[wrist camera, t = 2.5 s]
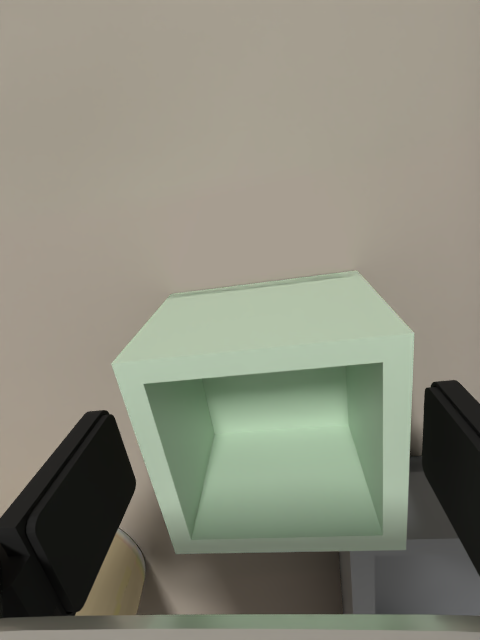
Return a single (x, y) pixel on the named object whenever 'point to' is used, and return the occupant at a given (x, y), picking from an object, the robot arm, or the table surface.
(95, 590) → the coffee cup
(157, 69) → the table surface
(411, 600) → the large crate
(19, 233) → the table surface
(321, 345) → the box
